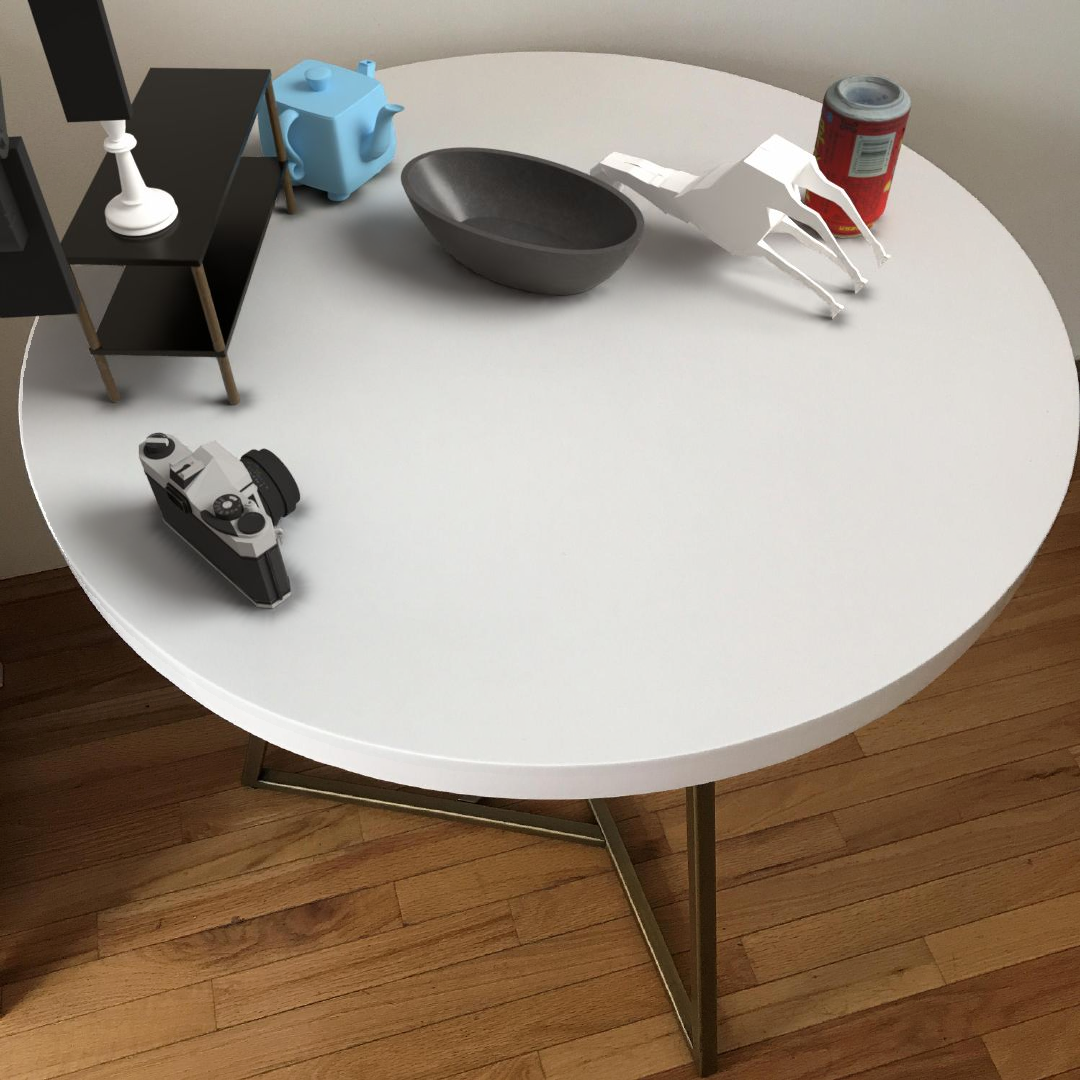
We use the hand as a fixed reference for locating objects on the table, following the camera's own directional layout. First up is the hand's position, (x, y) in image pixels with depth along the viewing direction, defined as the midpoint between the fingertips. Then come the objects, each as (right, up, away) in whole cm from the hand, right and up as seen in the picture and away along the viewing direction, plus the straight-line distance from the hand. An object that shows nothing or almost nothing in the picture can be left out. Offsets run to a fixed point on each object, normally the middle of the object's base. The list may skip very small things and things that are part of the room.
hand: (74, 205), depth 46 cm
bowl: (+17, +11, +54) cm, 57 cm away
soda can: (+46, +15, +58) cm, 75 cm away
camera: (-1, -13, +34) cm, 36 cm away
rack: (-9, +8, +51) cm, 52 cm away
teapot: (0, +21, +63) cm, 66 cm away
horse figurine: (+34, +11, +54) cm, 65 cm away
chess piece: (-9, +9, +35) cm, 38 cm away
